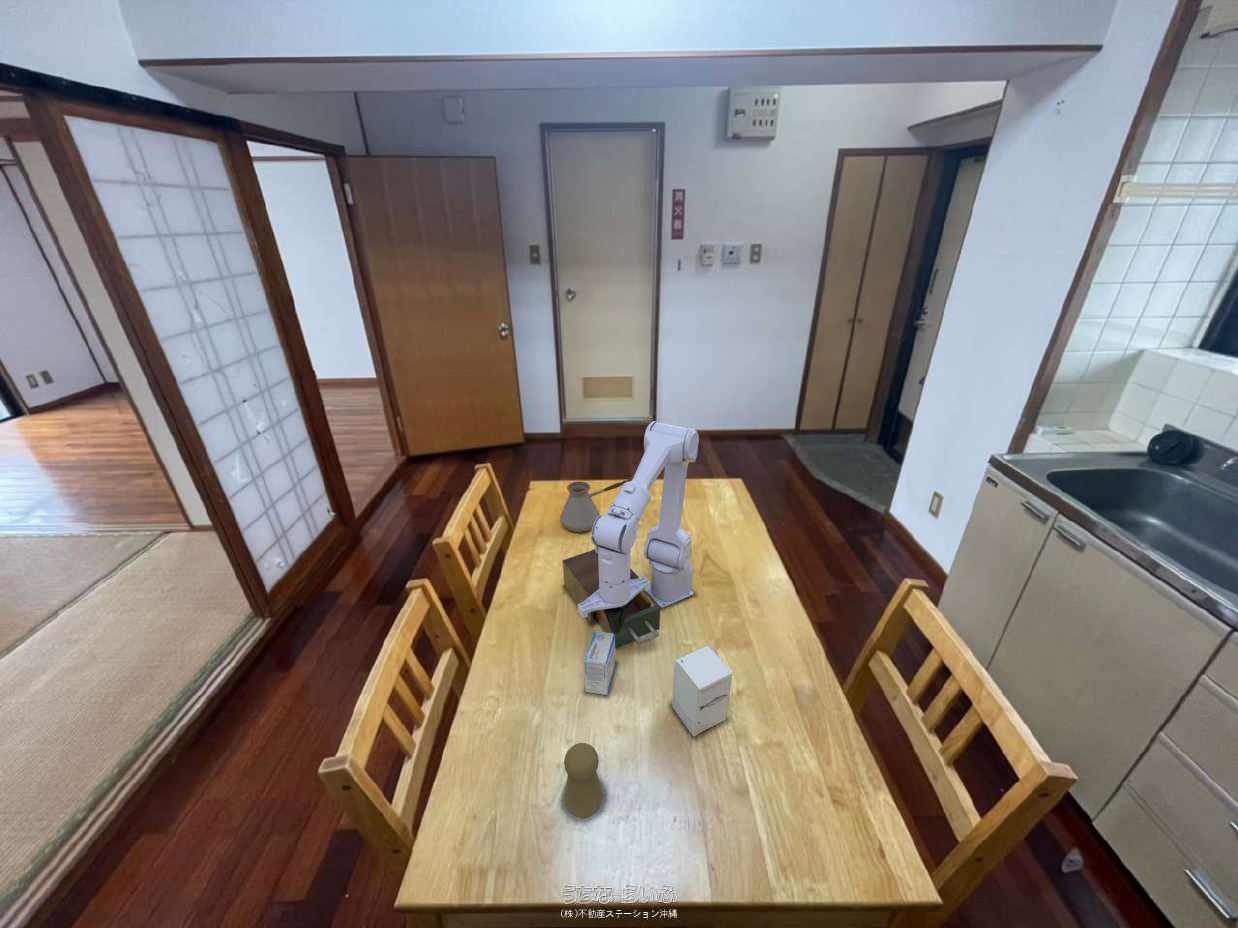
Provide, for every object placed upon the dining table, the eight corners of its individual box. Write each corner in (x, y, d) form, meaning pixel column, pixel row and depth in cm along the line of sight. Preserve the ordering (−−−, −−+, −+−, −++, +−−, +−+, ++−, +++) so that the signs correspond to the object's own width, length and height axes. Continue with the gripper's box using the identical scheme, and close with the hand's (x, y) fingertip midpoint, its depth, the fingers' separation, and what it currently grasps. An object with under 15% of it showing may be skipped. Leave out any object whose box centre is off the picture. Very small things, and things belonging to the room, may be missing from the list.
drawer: (671, 643, 109) (672, 620, 106) (624, 664, 104) (624, 642, 101) (628, 592, 123) (628, 571, 120) (585, 609, 118) (584, 588, 115)
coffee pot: (559, 537, 145) (556, 491, 138) (561, 514, 155) (558, 470, 148) (635, 535, 145) (635, 489, 138) (632, 512, 155) (633, 468, 148)
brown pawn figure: (564, 780, 85) (560, 737, 80) (601, 776, 85) (600, 734, 80) (564, 819, 79) (560, 776, 74) (603, 815, 80) (602, 772, 75)
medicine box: (607, 696, 99) (606, 664, 95) (584, 692, 100) (583, 660, 95) (615, 663, 106) (615, 632, 102) (594, 660, 106) (593, 629, 102)
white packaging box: (693, 738, 91) (698, 689, 85) (670, 706, 97) (673, 658, 91) (727, 721, 94) (733, 672, 88) (703, 690, 100) (707, 643, 94)
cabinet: (639, 604, 121) (639, 577, 117) (591, 624, 115) (589, 597, 111) (609, 569, 132) (608, 544, 128) (564, 586, 126) (562, 560, 123)
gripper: (635, 549, 100) (635, 603, 106) (568, 575, 93) (572, 631, 100) (657, 569, 95) (654, 624, 101) (587, 598, 88) (589, 655, 94)
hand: (615, 629), depth 100 cm, fingers closed
